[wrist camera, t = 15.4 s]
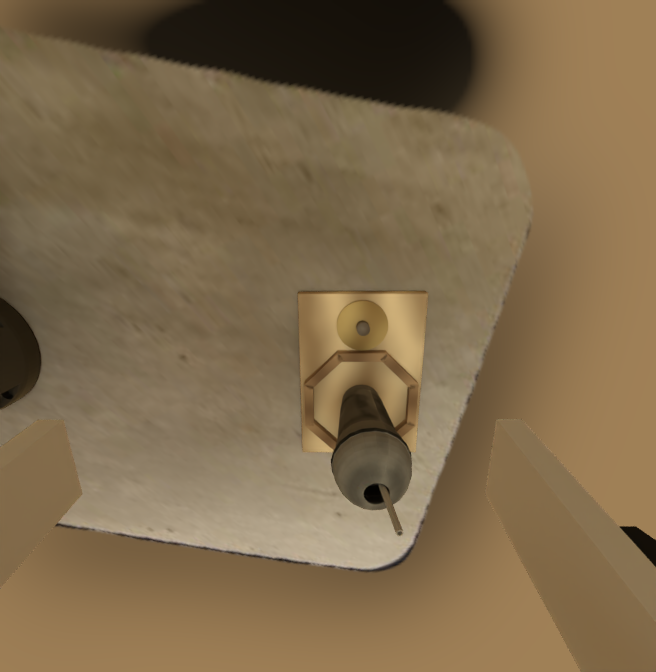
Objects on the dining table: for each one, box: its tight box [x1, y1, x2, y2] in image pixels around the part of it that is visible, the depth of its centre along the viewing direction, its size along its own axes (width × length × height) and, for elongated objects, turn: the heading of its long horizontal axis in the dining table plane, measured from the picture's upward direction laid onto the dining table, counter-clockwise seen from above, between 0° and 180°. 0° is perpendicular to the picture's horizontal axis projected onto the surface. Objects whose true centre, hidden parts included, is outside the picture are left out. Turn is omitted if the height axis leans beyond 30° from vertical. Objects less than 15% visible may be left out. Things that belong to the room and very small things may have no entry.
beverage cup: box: [331, 385, 412, 536], centre depth 36 cm, size 7×7×20 cm
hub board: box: [298, 291, 428, 452], centre depth 44 cm, size 14×20×3 cm
